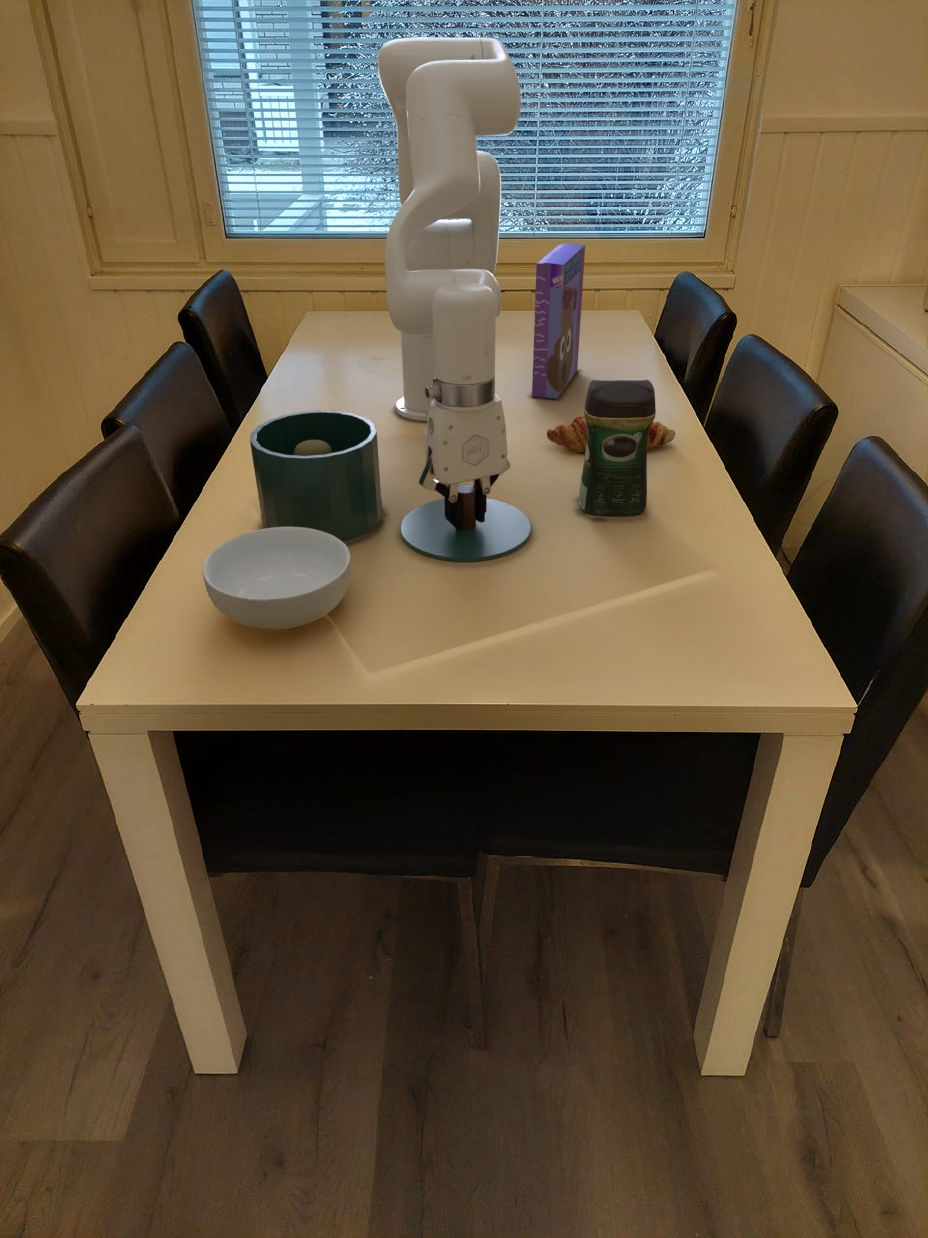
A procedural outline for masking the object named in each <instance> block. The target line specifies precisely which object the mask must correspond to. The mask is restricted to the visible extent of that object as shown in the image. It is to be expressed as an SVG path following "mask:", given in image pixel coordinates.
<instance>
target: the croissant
mask: <svg viewBox="0 0 928 1238" xmlns="http://www.w3.org/2000/svg"><path fill="white" fill-rule="evenodd" d="M676 435H677V433H676V431H675V430H674V429H670V428H669V427H667V426H666V425H665V424H663V423H662V422H660V421H655V422H653V423H652V425H651V426H650V429H649V433H648V442H647V450H649V449H651V448H654V447H655V446H659V447H662V446H664V445H667V444H670V443H671V442H673V440H674V439H675V437H676ZM546 438H547V439H548V440H549V441H550V442H551V443H554V444H556V445H559V446H562V447H564V448H567V450H570V451H573V452H577V453H586V444H587V423H586V420H585V417H584V415H580V416H576V417H575V418H574V419H573V420H572V421H571V423H569V424H568V423H561V424H559V425H557V426H556V427H554V428H553V429H551V428H549V429H547V430H546Z"/></svg>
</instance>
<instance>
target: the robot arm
mask: <svg viewBox="0 0 928 1238" xmlns="http://www.w3.org/2000/svg"><path fill="white" fill-rule="evenodd" d="M377 71H378V72H377V73H378V78H379V82H380V85H381V89H382V91H383V93H384V96H385V99H386V100H387V102H388V104H389V107H390V109H391V112H392V114H393V117H394V121H395V124H396V135H397V136H396V138H397V139H396V140H397V143H396V144H397V173H398V174H397V175H398V176H397V177H398V178H397V179H398V194H399V201H400V205H401V207H400V208H399V209H398V210H397V212H396V214H395V215H394V218H393V219H392V222H391V224H390V226H389V229H388V232H387V235H386V239H385V245H384V255H383V256H384V272H385V273H384V274H385V287H386V288H385V289H386V299H387V301H386V302H387V308H388V313H389V318H390V320H391V321H390V322H392V325H393V326H394V328H396V330H397V331H399V332H400V342H401V343H400V344H401V346H400V347H401V364H402V365H401V366H402V385H403V388H402V389H403V396H402V397H401V398H399V399H398V400H396V402H395V411H396V413H397V414H398V415H399V416H400V417H403V418H406V419H408V420H413V421H419V422H426V429H425V430H426V431H425V445H424V446H425V447H424V448H425V449H424V451H425V452H424V453H425V455H424V456H425V457H424V459H425V466H424V468H423V470H422V472H421V475H420V478H419V480H418V484H419V485H420V486H421V487H422V488H424V490H425V489H426V490H429V491H433V492H437V493H438V494H440V495H441V496H442V497H443V499H444V501H445V518H446V520H447V521H449V522H450V523H451V524H452V525H453V526H454V527H455V528H456V529H458V528H461V526H462V503H461V501H460V500H459V499H458V486H459V485H460V483H461V484H462V483H465V482H466V483H467V482H469V481H472V486H474V487H475V488H476V520H477V521H478V522H480V523H482V522H485V513H486V511H487V498H488V496H487V495H489V494H490V493H491V488H492V486H493V485H494V484H495V483H496V481H497V480H498V479H499V477H500V476H502V475H504V474H505V473H506V472H507V471H509V470H510V469H511V463H510V461H509V459H508V439H507V426H506V420H505V419H506V418H505V412H504V407H503V402H502V398H501V397H500V396H498V395H497V394H496V327H497V326H496V324H497V321H496V320H497V317H499V316H500V313H501V306H502V292H501V291H502V290H501V286H500V283H499V282H498V281H497V279H496V277H495V276H494V273H495V271H496V268H497V263H498V255H499V253H498V252H499V240H500V239H499V238H500V222H501V208H502V207H501V206H502V178H501V171H500V170H501V169H500V166H499V164H498V161H497V159H496V158H495V157H494V156H493V155H492V154H491V153H489V152H487V151H484V150H478V148H477V147H478V146H477V137H501V136H508V135H510V134H512V133H513V132H514V130H515V129H516V128H517V125H518V123H519V121H520V114H521V107H522V106H521V105H522V104H521V103H522V102H521V101H522V99H521V87H520V83H519V77H518V74H517V71H516V67H515V65H514V62H513V61H512V58H511V57H510V55H509V53H508V52H507V50H506V47H505V46H504V45H503V43H502V42H501V41H500V40H498V39H496V38H492V37H440V36H439V37H437V36H435V37H434V36H433V37H432V36H431V37H403V38H396V39H392V40H389V41H387V42H385V43H384V44H383V45H382V46H381V47H380V49H379V51H378V55H377Z"/></svg>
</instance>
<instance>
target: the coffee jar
mask: <svg viewBox="0 0 928 1238" xmlns="http://www.w3.org/2000/svg"><path fill="white" fill-rule="evenodd" d="M655 392H656V391H655V387H654V385H653V383H652V382H651V381H650V380H649V379H641V380H639V379H637V380H635V379H634V380H633V379H631V380H626V379H621V380H617V379H616V380H612V379H611V380H602V379H601V380H600V379H599V380H598V379H592V380H590V382H589V384H588V386H587V392H586V397H585V401H584V402H585V403H584V406H583V416H584V417H585V420H586V423H587V444H586V453H585V452H584V453H585V454H584V459H583V466H582V472H581V478H580V484H579V492H578V506H579V508H580V510H581V511H582V512H584V513H585V514H587V515H589V516H594V517H595V516H596V517H609V518H610V517H613V518H617V517H618V518H619V517H620V518H621V517H623V518H624V517H637V516H639V515H641V514H642V513H644V512H645V510H646V509H647V503H648V502H647V501H648V473H647V472H648V469H647V466H648V465H647V464H648V463H647V462H648V449H647V442H648V433H649V429H650V426H651V425H652V423H654V421H655V418H656V414H657V409H656V394H655Z"/></svg>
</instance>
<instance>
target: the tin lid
mask: <svg viewBox="0 0 928 1238" xmlns="http://www.w3.org/2000/svg"><path fill="white" fill-rule="evenodd" d="M458 499H459V500H460V501H461V503H462V526H461V528H458V529H456V528H455V527H454V526H453V525H452V524H451V523H450V522H449V521H447V520H446V518H445V501H444V498H441V499H436V500H433V501H429V502H426V503H424V504H422V505H419V506H417V507H415V508H414V509H412V510H411V511H409V512H408V513H407V514H406V515H405V516H404V518H403V519H402V521H401V524H400V535H401V538H402V540H403V541H404V543H405V544H406V545H407V546H408V547H409V548H410V549H411V550H413V551H415V552H417V553H418V554H421V555H423V556H426V557H428V558H432V559H436V560H440V561H447V562H453V563H454V562H457V563H474V562H475V563H476V562H483V561H490V560H494V559H495V560H496V559H499V558H502V557H505V556H507V555H510V554H512V553H514V552H516V551H517V550H519V549H520V548H522V547H523V546H524V545H526V544H527V542H528V540H529V539H530V536H531V535H532V534H531V533H532V532H531V531H532V524H531V521H530V518H529V517H528V516H527V515H526V514H525V513H524V512H523V511H522V510H520V509H519V508H517V507H515V506H513V504H509V503H507V502H503V501H500V500H496V499H493V498H488V497H487V511H486V513H485V522H482V523H480V522H478V521H477V520H476V488H475V487H474V485H473V484H472V485H471V484H459V486H458Z"/></svg>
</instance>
